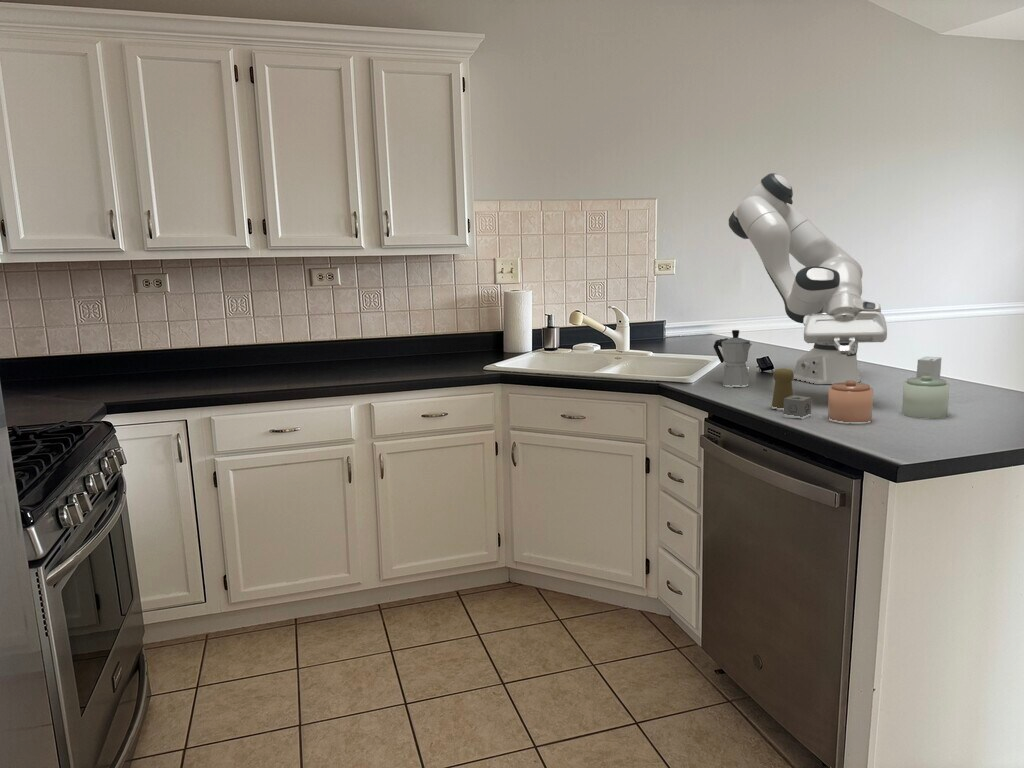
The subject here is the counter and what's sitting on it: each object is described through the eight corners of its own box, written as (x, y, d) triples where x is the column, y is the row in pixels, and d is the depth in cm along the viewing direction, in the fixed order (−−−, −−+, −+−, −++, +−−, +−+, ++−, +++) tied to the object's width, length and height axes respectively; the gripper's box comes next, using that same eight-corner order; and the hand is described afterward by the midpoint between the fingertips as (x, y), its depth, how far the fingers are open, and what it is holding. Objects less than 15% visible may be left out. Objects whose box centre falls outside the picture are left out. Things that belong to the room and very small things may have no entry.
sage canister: (893, 414, 184) (895, 376, 183) (917, 408, 189) (919, 371, 187) (932, 420, 176) (934, 381, 174) (956, 415, 180) (958, 376, 179)
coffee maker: (760, 386, 230) (761, 329, 227) (742, 390, 225) (743, 332, 222) (723, 380, 242) (723, 327, 239) (705, 384, 237) (705, 329, 234)
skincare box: (921, 399, 200) (923, 355, 198) (939, 401, 196) (942, 356, 194) (913, 403, 195) (915, 358, 193) (932, 404, 192) (934, 359, 190)
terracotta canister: (819, 419, 183) (820, 381, 181) (845, 413, 188) (846, 376, 186) (854, 426, 174) (855, 386, 173) (880, 420, 179) (882, 381, 177)
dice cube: (783, 417, 187) (783, 398, 186) (792, 414, 190) (792, 395, 189) (802, 420, 183) (802, 400, 183) (810, 416, 187) (811, 397, 186)
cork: (766, 408, 198) (766, 368, 196) (783, 405, 200) (783, 366, 198) (782, 412, 193) (783, 371, 191) (799, 409, 195) (800, 369, 193)
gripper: (803, 306, 199) (801, 346, 191) (886, 303, 190) (888, 345, 183) (803, 320, 203) (802, 360, 196) (885, 318, 195) (886, 360, 188)
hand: (844, 353), depth 190 cm, fingers closed
